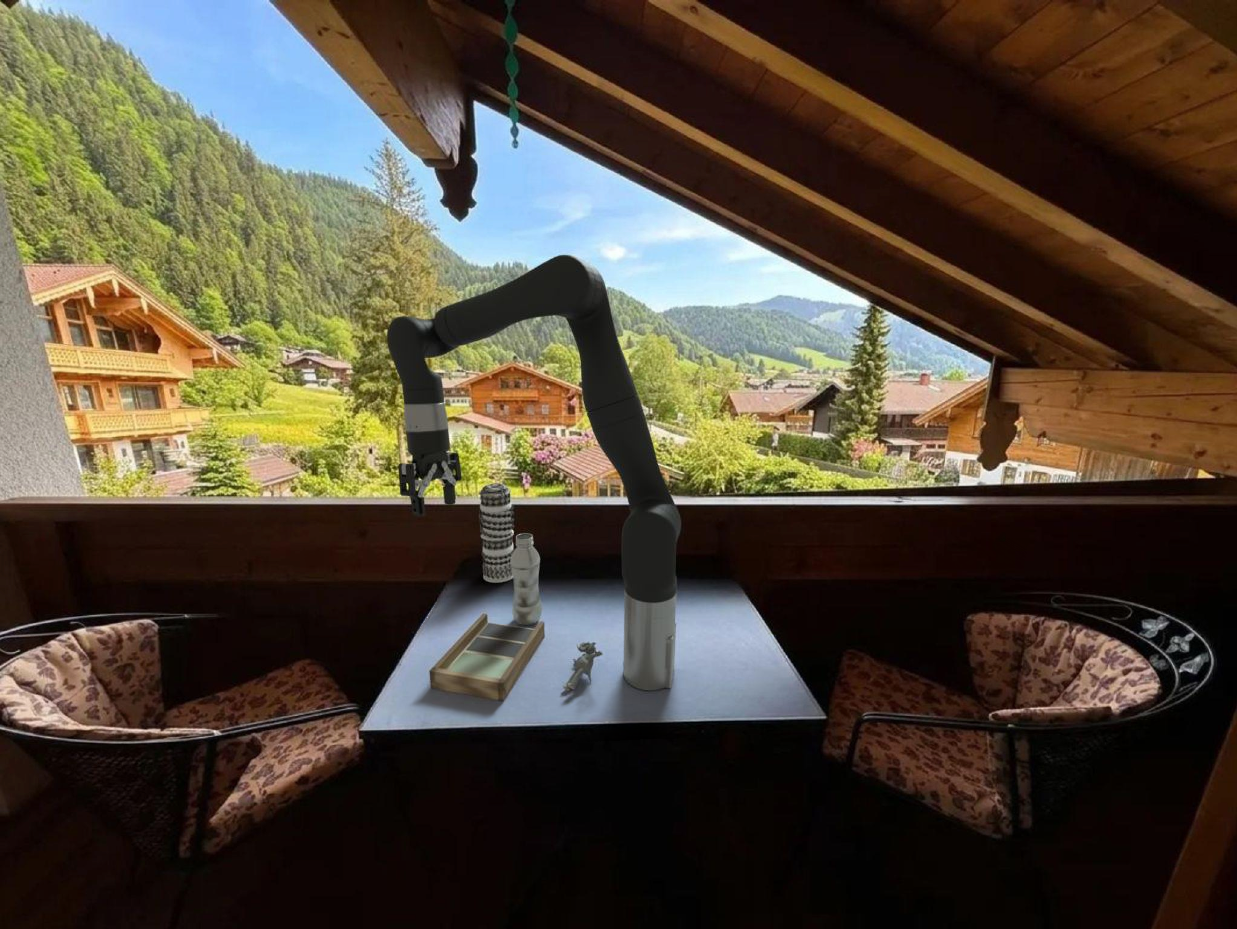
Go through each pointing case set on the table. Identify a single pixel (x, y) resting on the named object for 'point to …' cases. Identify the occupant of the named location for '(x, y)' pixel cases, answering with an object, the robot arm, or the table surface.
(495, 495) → the decorative candle
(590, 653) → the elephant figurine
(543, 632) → the box
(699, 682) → the table surface
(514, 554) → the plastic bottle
